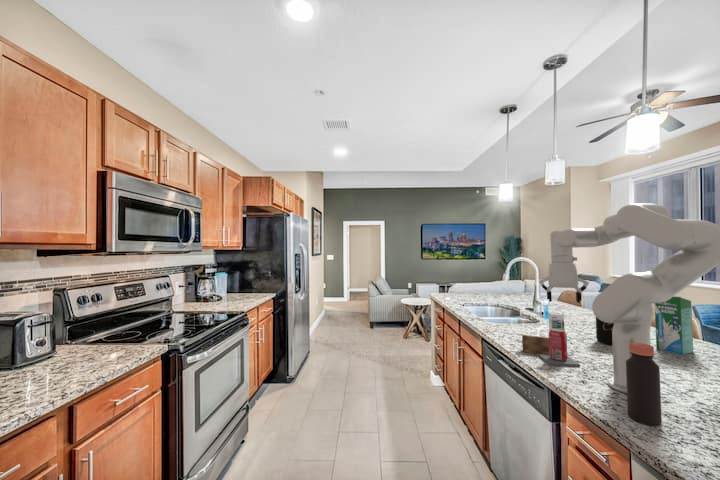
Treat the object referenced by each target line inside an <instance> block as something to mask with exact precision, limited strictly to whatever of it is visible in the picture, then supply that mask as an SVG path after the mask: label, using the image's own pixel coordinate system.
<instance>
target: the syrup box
mask: <svg viewBox="0 0 720 480" xmlns="http://www.w3.org/2000/svg"><path fill="white" fill-rule="evenodd" d="M548 327H549V329H548V330H549V331H550V329H551V328H558V329H563V330H565V314H564V313H563V312H551V311H549V312H548ZM549 331H548V332H549Z"/></svg>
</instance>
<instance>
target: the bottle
mask: <svg viewBox="0 0 720 480" xmlns="http://www.w3.org/2000/svg"><path fill="white" fill-rule="evenodd" d="M630 353H631V354H632V357H630V358H629V359H628V360H626V377H627V393H626V397H627V398H626V399H627V401H626V402H627V415H628V417H629V418H630V419H632V420H633V421H634V422H637V423H639V424H643V425H647V426H652V427H654V426H655V427H656V426H657V427H658V426H660V425H662V422H663V421H662V418H663V417H662V397H661V396H662V395H661V394H662V393H661V373H660V371H661V370H660V366H659V365H658V363H657V362H656V361H654V360H653V358H654V357H655V347H654V346H653V345H651V344H650V345H648V344H643V343H630Z"/></svg>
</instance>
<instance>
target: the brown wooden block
mask: <svg viewBox="0 0 720 480" xmlns="http://www.w3.org/2000/svg"><path fill="white" fill-rule="evenodd" d="M521 338H522V340H521V341H522V342H521V343H522V344H521V345H522V352H523V353H526V354H534V355H538V354H549V336H537V335H530V334H529V335H528V334H522V335H521Z"/></svg>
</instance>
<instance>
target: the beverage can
mask: <svg viewBox="0 0 720 480" xmlns="http://www.w3.org/2000/svg"><path fill="white" fill-rule="evenodd" d="M565 330H566V329H564V330H563V329H558V328H551V329H550V331H548V338H549V354H550V357H551V358H552V359H555V360H559V361H564V360H566V359H567V356H568V336H567V335H568V334H567V333H566V331H565Z"/></svg>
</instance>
